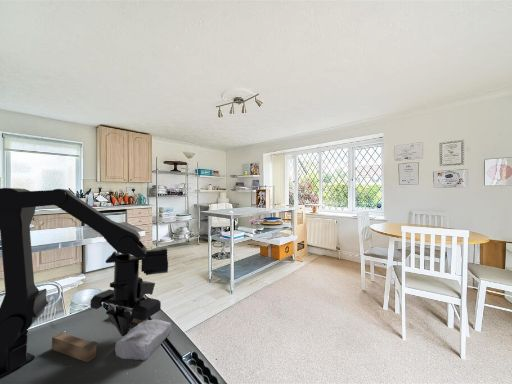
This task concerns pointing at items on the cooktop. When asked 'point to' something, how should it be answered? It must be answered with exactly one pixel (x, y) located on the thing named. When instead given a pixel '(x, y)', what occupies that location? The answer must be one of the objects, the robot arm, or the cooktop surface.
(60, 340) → the wooden blocks
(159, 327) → the stone block
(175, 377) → the cooktop surface
